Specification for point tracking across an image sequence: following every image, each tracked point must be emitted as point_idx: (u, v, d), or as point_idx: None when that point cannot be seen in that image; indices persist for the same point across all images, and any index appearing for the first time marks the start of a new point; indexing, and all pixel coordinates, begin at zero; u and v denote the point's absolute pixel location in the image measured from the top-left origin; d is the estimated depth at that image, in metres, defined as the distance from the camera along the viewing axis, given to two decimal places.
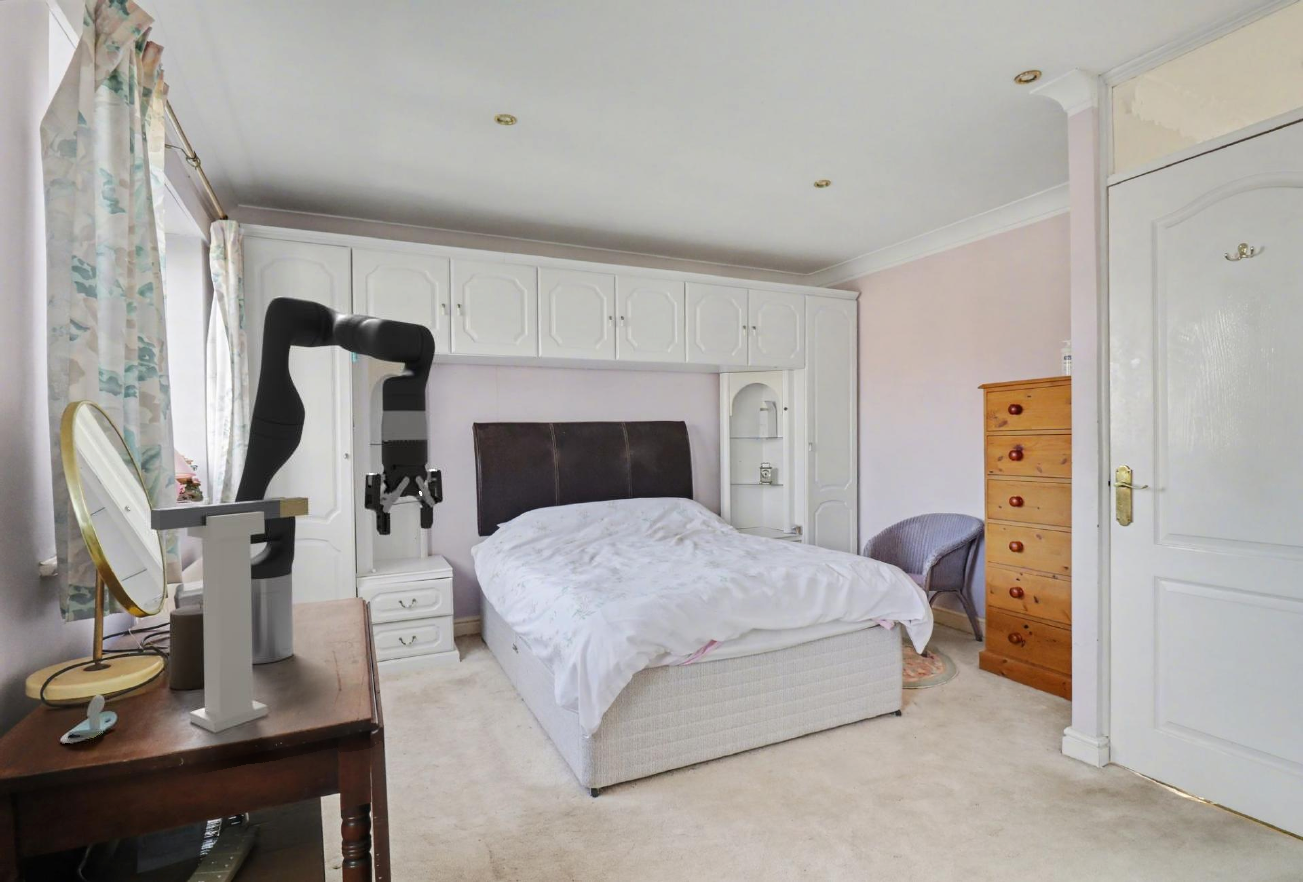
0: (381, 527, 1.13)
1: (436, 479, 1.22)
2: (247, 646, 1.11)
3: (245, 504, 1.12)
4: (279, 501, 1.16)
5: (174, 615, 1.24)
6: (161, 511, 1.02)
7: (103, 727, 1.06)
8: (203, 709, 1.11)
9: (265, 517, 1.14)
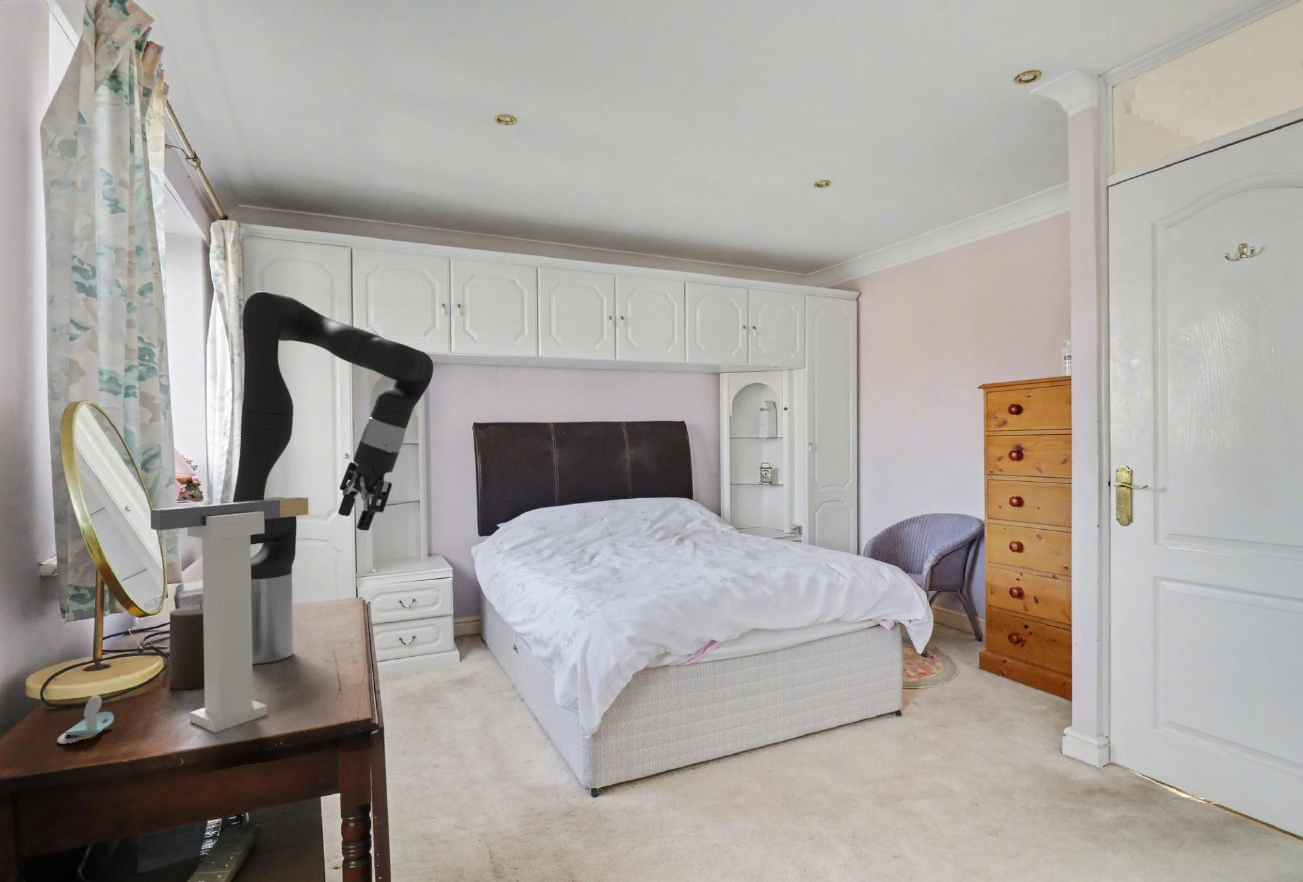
0: (369, 524, 1.30)
1: None
2: (247, 646, 1.11)
3: (245, 504, 1.12)
4: (279, 501, 1.16)
5: (174, 615, 1.24)
6: (161, 511, 1.02)
7: (100, 727, 1.06)
8: (203, 709, 1.11)
9: (265, 517, 1.14)
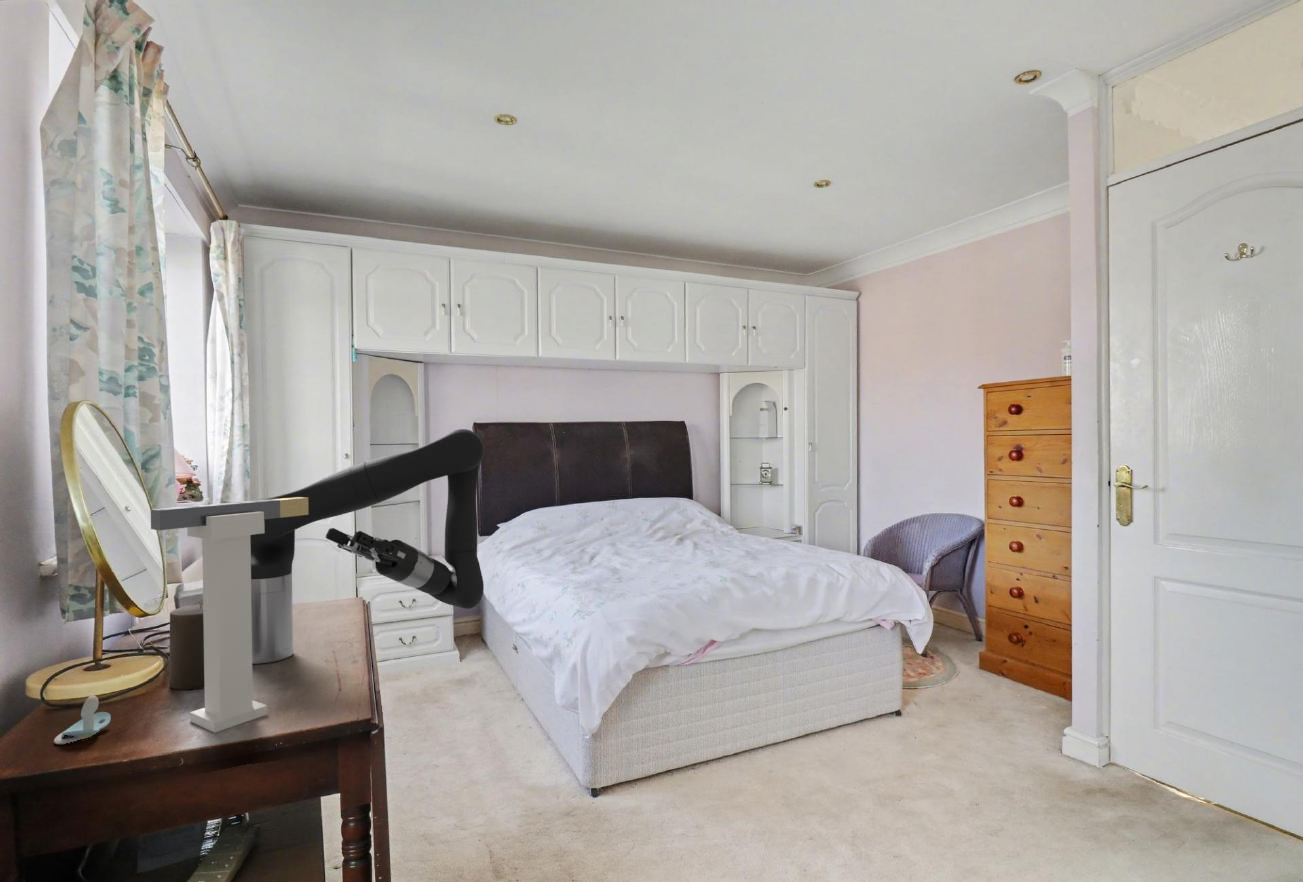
0: (362, 541, 1.26)
1: None
2: (247, 646, 1.11)
3: (245, 504, 1.12)
4: (279, 501, 1.16)
5: (174, 615, 1.24)
6: (161, 511, 1.02)
7: (97, 728, 1.05)
8: (203, 709, 1.11)
9: (265, 517, 1.14)
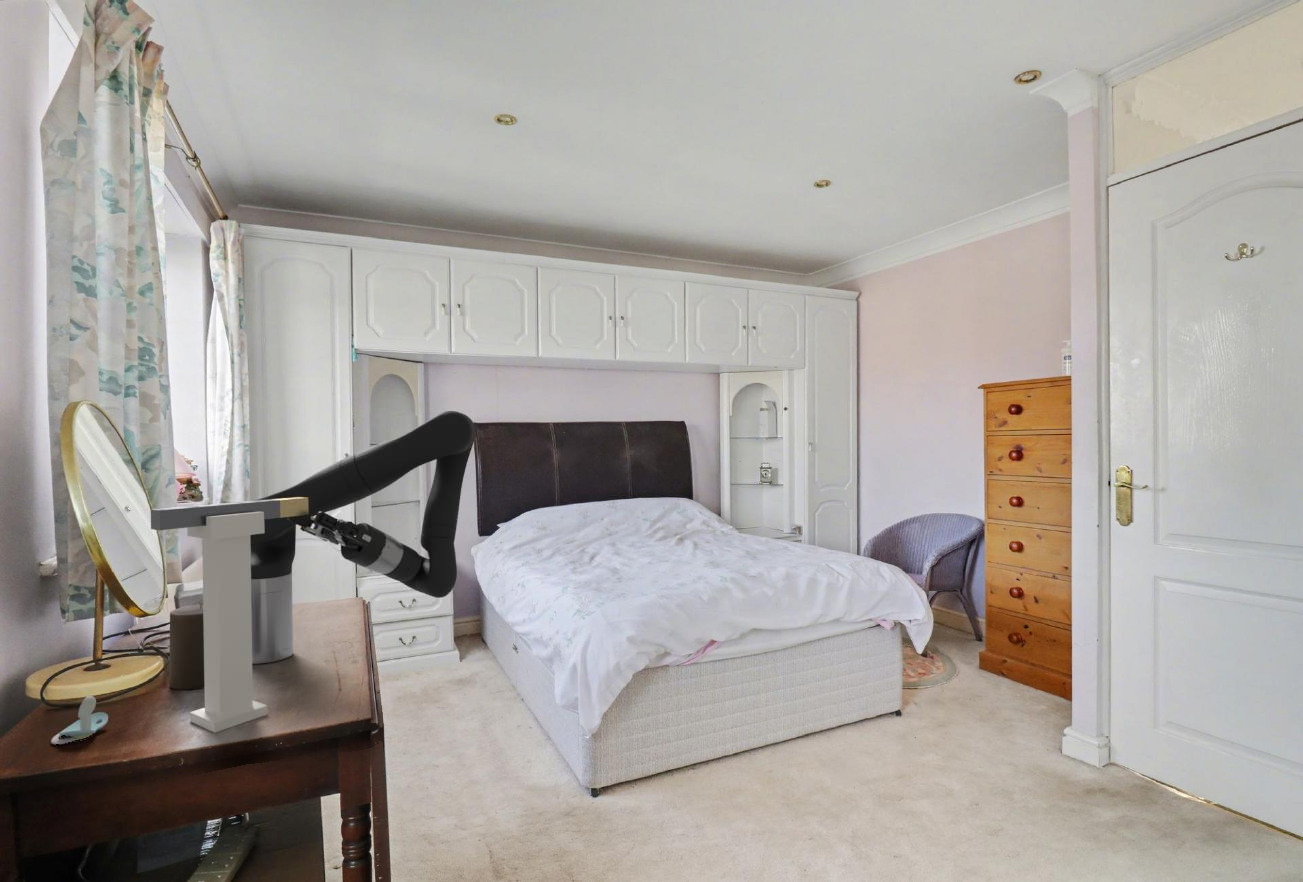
0: (325, 522, 1.19)
1: (321, 537, 1.30)
2: (247, 646, 1.11)
3: (245, 504, 1.12)
4: (279, 501, 1.16)
5: (174, 615, 1.24)
6: (161, 511, 1.02)
7: (94, 728, 1.05)
8: (203, 709, 1.11)
9: (265, 517, 1.14)
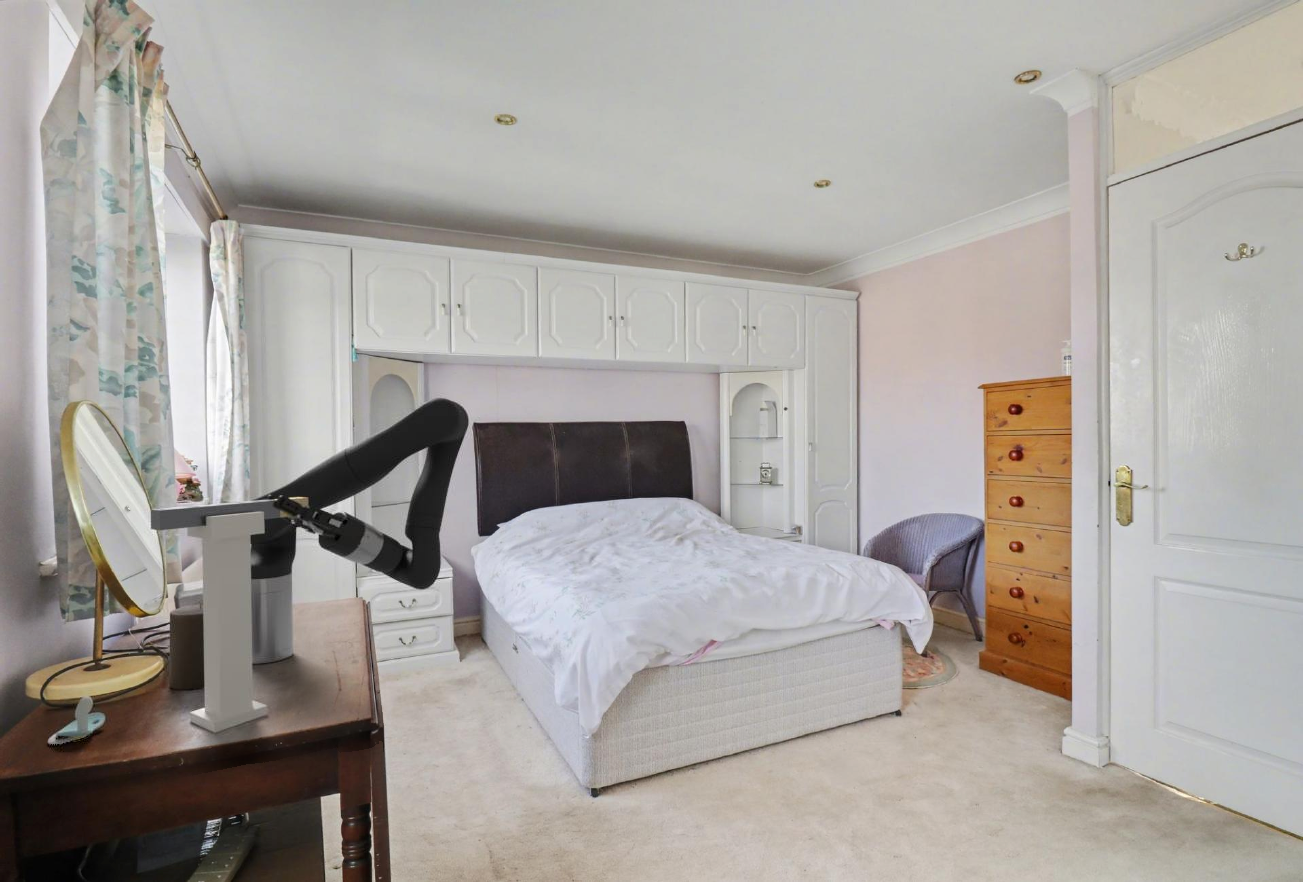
0: (286, 507, 1.16)
1: (295, 524, 1.25)
2: (247, 646, 1.11)
3: (245, 504, 1.12)
4: None
5: (174, 615, 1.24)
6: (161, 511, 1.02)
7: (91, 728, 1.05)
8: (203, 709, 1.11)
9: (265, 517, 1.14)
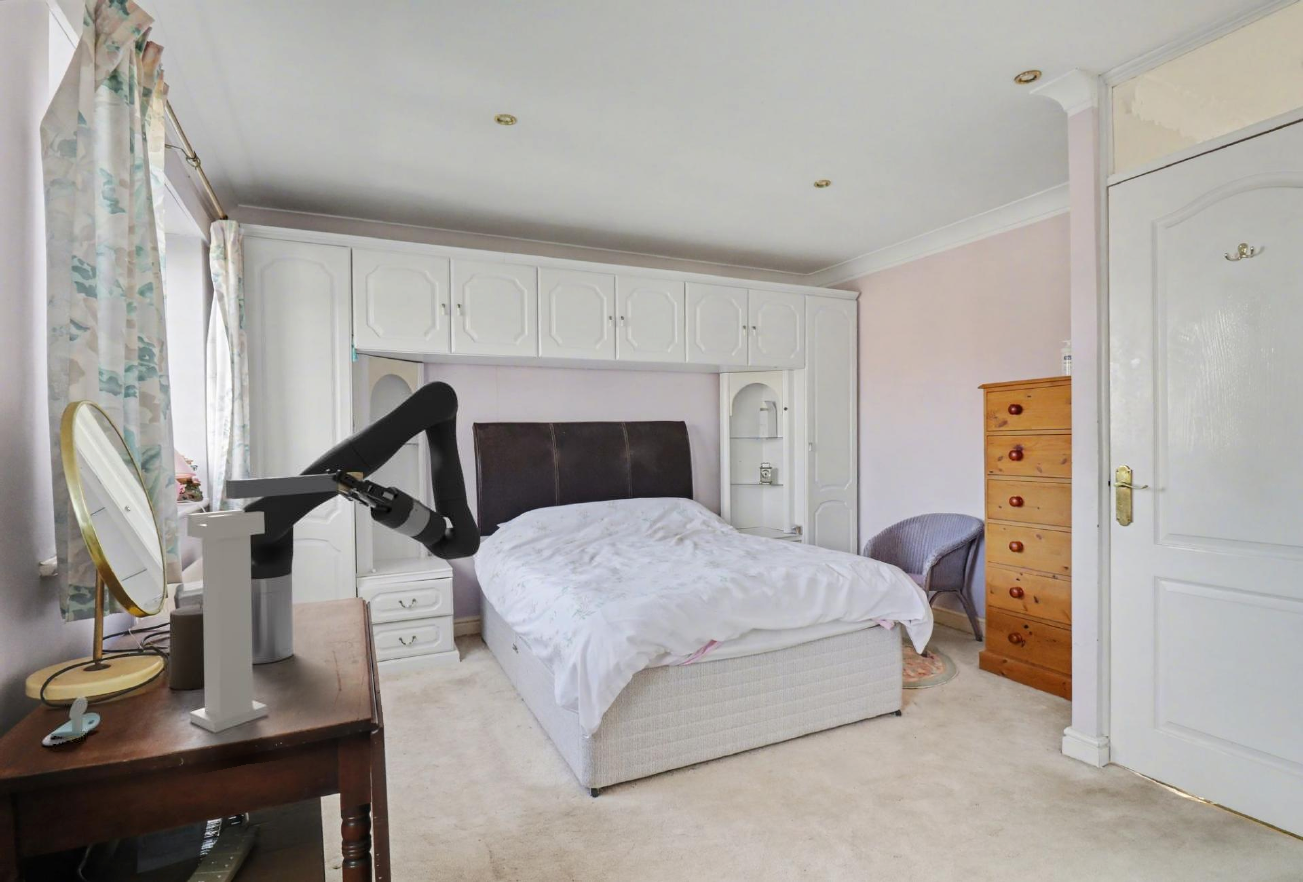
0: (344, 480, 1.25)
1: (349, 498, 1.35)
2: (247, 646, 1.11)
3: (308, 477, 1.21)
4: None
5: (174, 615, 1.24)
6: (236, 481, 1.11)
7: (86, 729, 1.05)
8: (203, 709, 1.11)
9: (325, 489, 1.24)
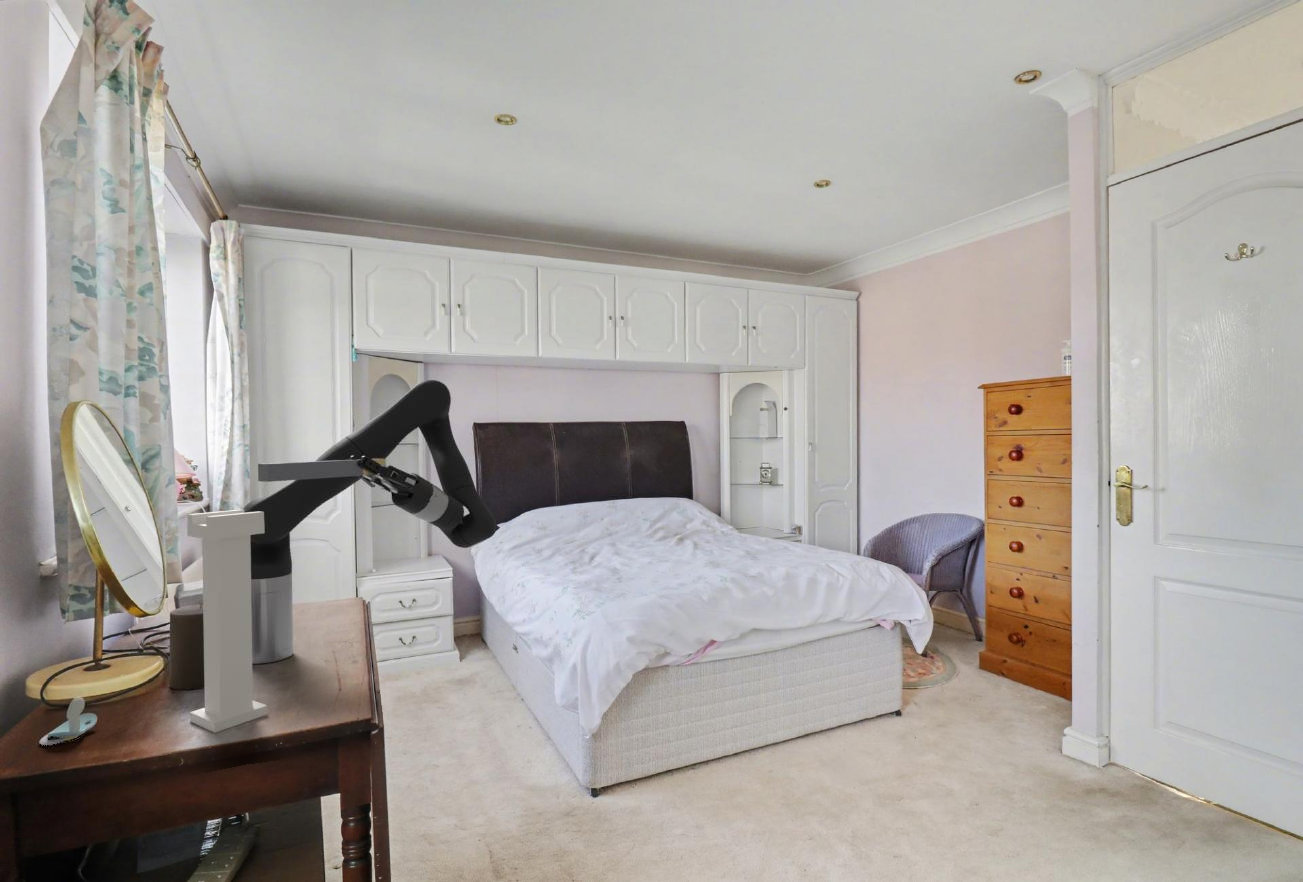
0: (368, 466, 1.29)
1: (371, 484, 1.39)
2: (247, 646, 1.11)
3: (335, 462, 1.25)
4: None
5: (174, 615, 1.24)
6: (268, 465, 1.15)
7: (83, 729, 1.05)
8: (203, 709, 1.11)
9: (351, 474, 1.28)
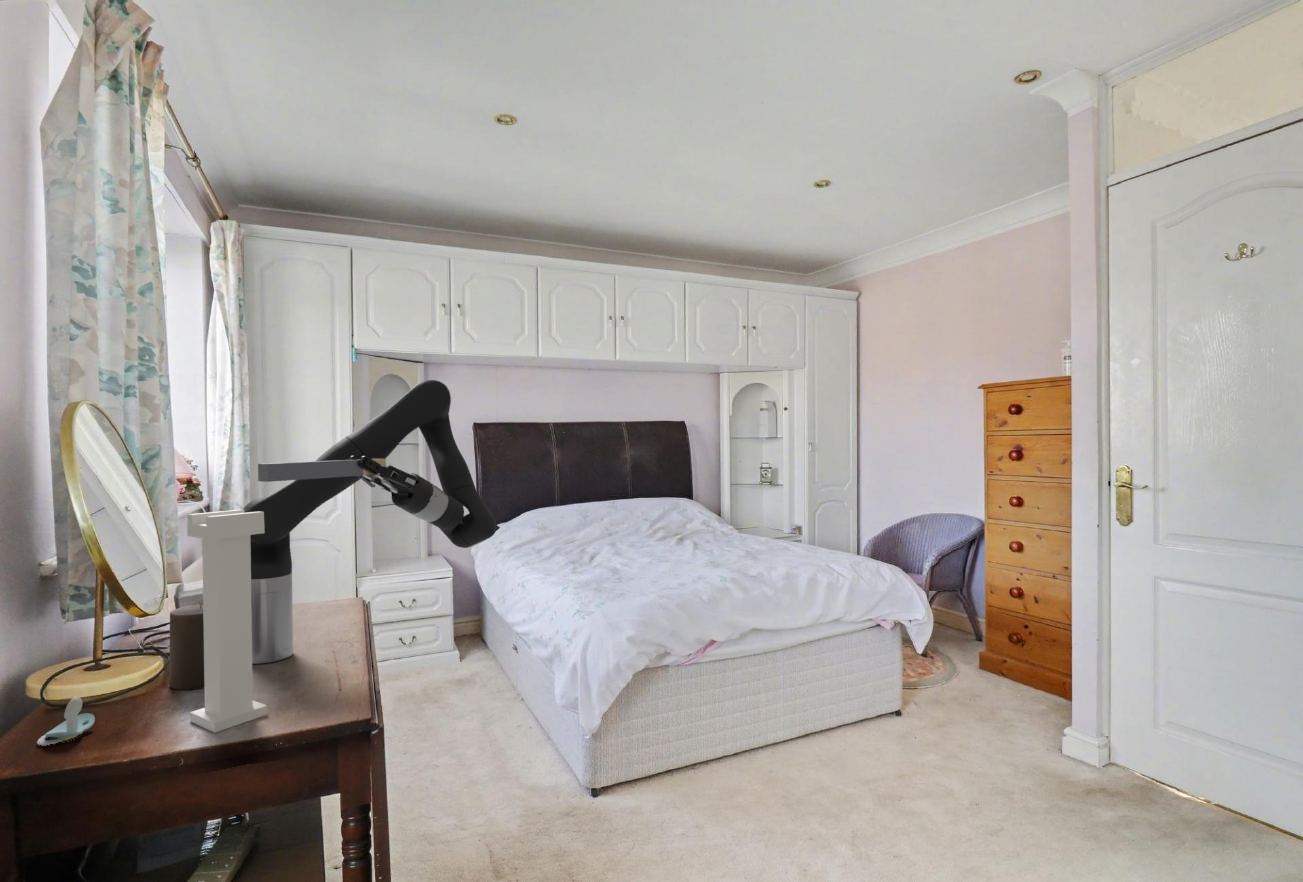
0: (368, 466, 1.29)
1: (371, 484, 1.39)
2: (247, 646, 1.11)
3: (335, 462, 1.25)
4: None
5: (174, 615, 1.24)
6: (268, 465, 1.15)
7: (81, 729, 1.05)
8: (203, 709, 1.11)
9: (351, 474, 1.28)
